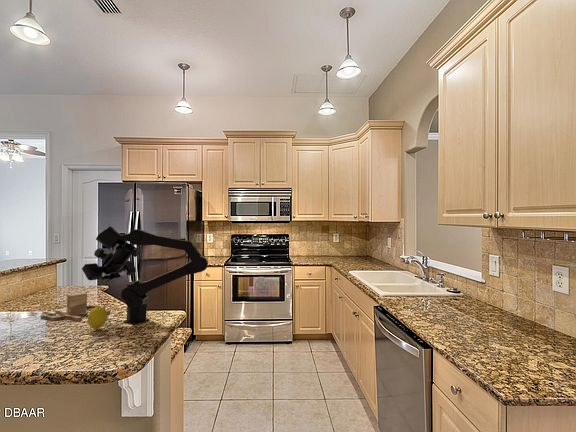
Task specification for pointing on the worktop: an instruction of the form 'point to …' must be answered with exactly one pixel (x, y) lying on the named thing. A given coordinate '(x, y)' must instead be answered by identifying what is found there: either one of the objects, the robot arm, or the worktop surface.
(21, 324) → the worktop surface
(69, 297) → the oak bookend
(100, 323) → the lemon
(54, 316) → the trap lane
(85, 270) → the robot arm
